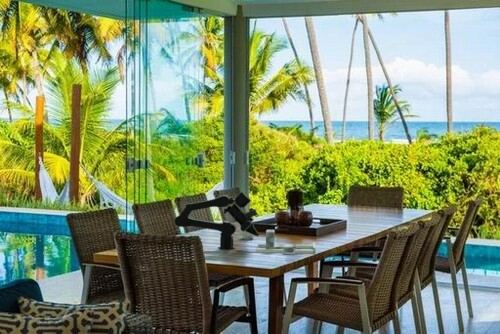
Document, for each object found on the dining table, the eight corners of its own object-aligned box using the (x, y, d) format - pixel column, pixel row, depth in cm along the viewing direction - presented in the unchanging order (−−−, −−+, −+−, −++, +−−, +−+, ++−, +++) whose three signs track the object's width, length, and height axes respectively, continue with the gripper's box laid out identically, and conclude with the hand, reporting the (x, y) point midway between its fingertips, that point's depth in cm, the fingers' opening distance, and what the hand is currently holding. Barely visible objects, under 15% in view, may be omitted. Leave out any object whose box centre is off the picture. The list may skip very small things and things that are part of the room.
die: (250, 238, 499) (240, 224, 499) (261, 232, 494) (250, 217, 493) (244, 245, 492) (233, 231, 492) (254, 239, 487) (244, 224, 486)
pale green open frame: (255, 252, 446) (256, 246, 446) (258, 246, 464) (258, 241, 464) (315, 253, 444) (315, 247, 444) (315, 248, 462) (315, 242, 462)
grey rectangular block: (265, 251, 450) (266, 232, 449) (266, 248, 460) (267, 229, 459) (293, 252, 449) (293, 232, 448) (293, 249, 459) (293, 230, 458)
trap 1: (282, 254, 439) (282, 254, 439) (283, 252, 445) (283, 252, 445) (294, 254, 438) (294, 254, 438) (295, 253, 444) (295, 252, 444)
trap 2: (284, 247, 463) (284, 246, 463) (284, 245, 469) (284, 244, 469) (295, 247, 463) (295, 246, 463) (296, 245, 469) (296, 245, 469)
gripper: (247, 205, 445) (268, 227, 445) (249, 201, 463) (270, 222, 463) (231, 220, 446) (252, 242, 446) (234, 216, 464) (255, 237, 464)
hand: (258, 235), depth 455 cm, fingers closed
